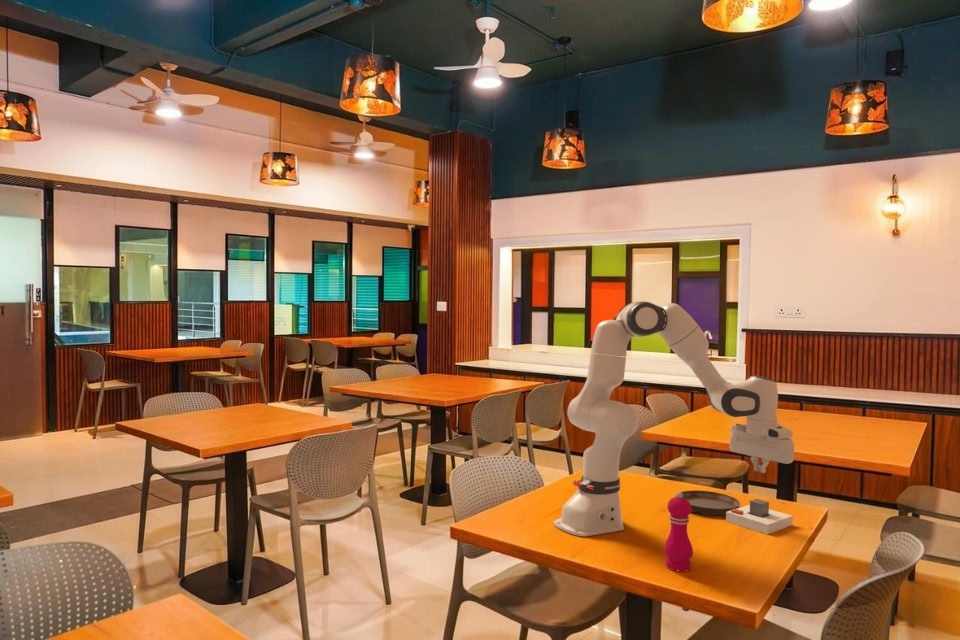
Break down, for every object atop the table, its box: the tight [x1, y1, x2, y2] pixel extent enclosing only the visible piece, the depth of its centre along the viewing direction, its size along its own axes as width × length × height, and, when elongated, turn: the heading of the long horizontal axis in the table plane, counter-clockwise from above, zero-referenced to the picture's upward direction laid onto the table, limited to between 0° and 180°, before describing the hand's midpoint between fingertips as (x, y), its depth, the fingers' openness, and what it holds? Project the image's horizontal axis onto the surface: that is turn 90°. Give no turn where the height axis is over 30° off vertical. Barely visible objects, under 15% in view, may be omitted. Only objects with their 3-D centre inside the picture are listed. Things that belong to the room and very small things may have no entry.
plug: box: [749, 498, 770, 518], centre depth 204 cm, size 4×4×7 cm
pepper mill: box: [663, 491, 694, 572], centre depth 170 cm, size 7×7×20 cm
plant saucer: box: [674, 489, 741, 516], centre depth 220 cm, size 21×21×3 cm
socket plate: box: [725, 504, 794, 535], centre depth 204 cm, size 14×14×4 cm
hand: (759, 471), depth 203 cm, fingers closed
